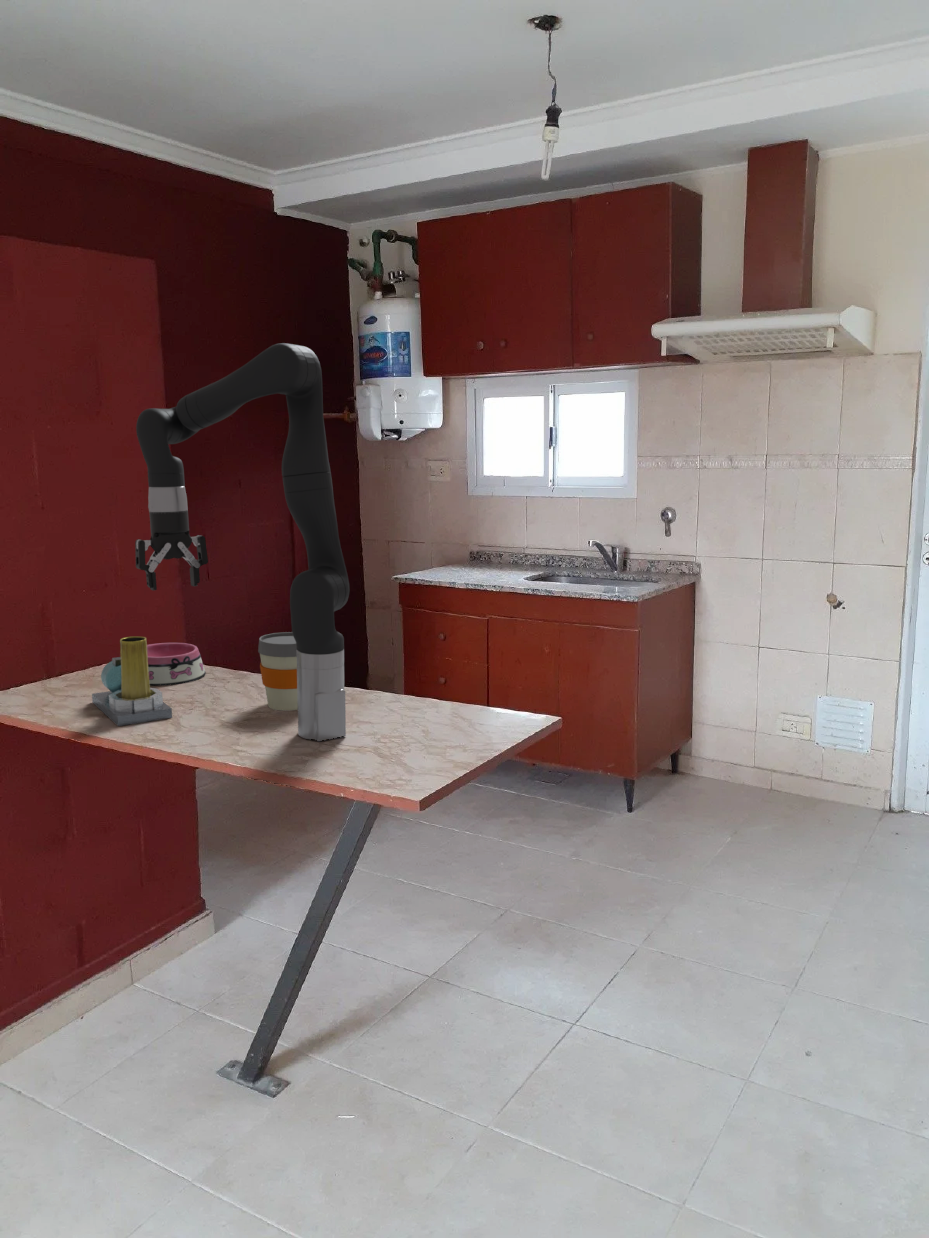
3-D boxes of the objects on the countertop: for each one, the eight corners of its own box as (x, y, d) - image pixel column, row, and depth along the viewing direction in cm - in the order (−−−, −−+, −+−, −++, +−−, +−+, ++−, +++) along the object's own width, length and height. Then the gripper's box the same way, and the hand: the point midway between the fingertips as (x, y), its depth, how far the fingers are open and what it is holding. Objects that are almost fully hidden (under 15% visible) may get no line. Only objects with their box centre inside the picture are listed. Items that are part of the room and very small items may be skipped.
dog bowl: (147, 690, 221) (145, 662, 219) (113, 675, 234) (111, 647, 233) (219, 677, 233) (218, 650, 232) (183, 663, 246) (181, 637, 245)
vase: (158, 703, 203) (154, 637, 200) (137, 711, 198) (133, 643, 195) (136, 699, 205) (132, 634, 203) (114, 707, 200) (110, 640, 197)
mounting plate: (172, 717, 200) (169, 670, 198) (118, 726, 194) (115, 677, 192) (143, 695, 216) (140, 651, 214) (92, 702, 210) (89, 657, 208)
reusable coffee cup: (323, 698, 216) (322, 632, 213) (309, 714, 204) (308, 645, 201) (269, 695, 217) (267, 630, 214) (251, 711, 205) (249, 643, 202)
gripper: (138, 512, 188) (145, 593, 191) (209, 508, 196) (214, 586, 199) (127, 510, 194) (133, 589, 197) (195, 506, 202) (201, 582, 205)
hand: (174, 587), depth 198 cm, fingers open, 8 cm apart
